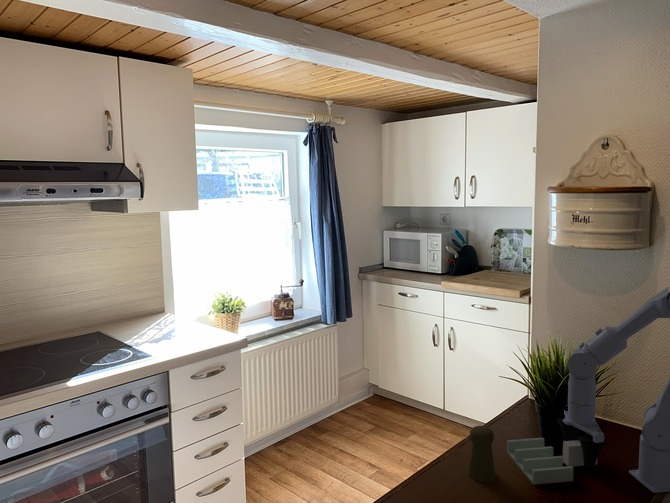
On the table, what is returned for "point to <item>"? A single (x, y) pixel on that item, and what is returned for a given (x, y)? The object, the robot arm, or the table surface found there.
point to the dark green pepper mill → (481, 455)
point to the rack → (538, 461)
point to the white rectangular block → (573, 453)
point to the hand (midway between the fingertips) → (579, 456)
